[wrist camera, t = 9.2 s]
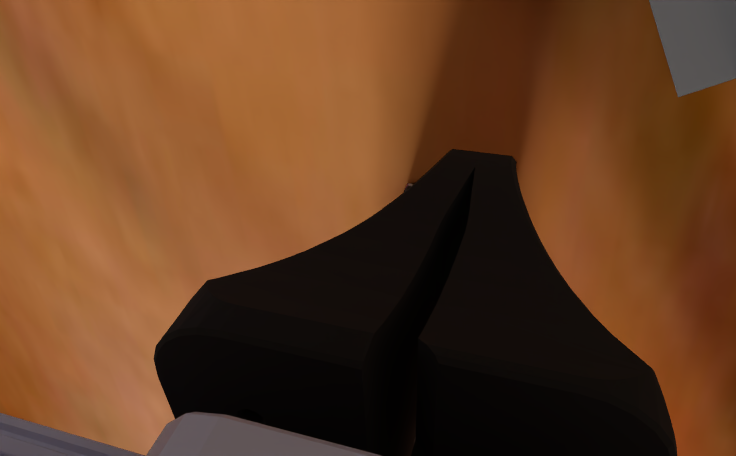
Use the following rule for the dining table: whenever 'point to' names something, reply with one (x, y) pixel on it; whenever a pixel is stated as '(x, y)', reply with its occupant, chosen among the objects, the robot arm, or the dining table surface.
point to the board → (697, 41)
